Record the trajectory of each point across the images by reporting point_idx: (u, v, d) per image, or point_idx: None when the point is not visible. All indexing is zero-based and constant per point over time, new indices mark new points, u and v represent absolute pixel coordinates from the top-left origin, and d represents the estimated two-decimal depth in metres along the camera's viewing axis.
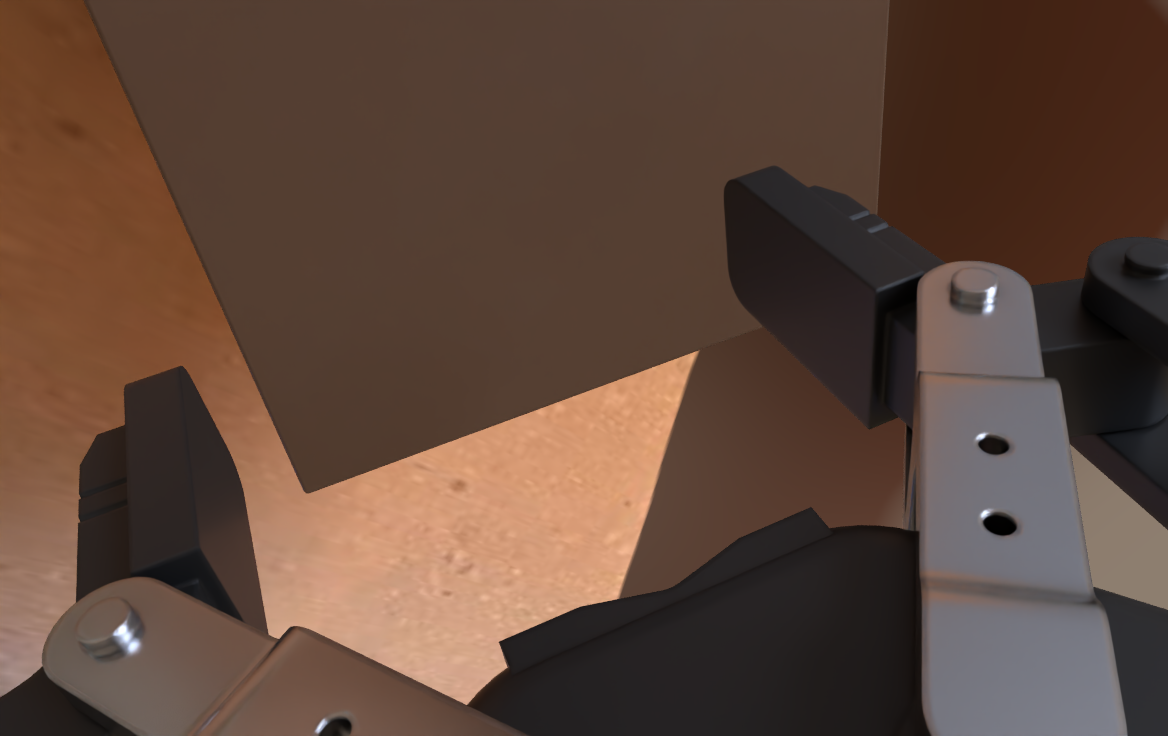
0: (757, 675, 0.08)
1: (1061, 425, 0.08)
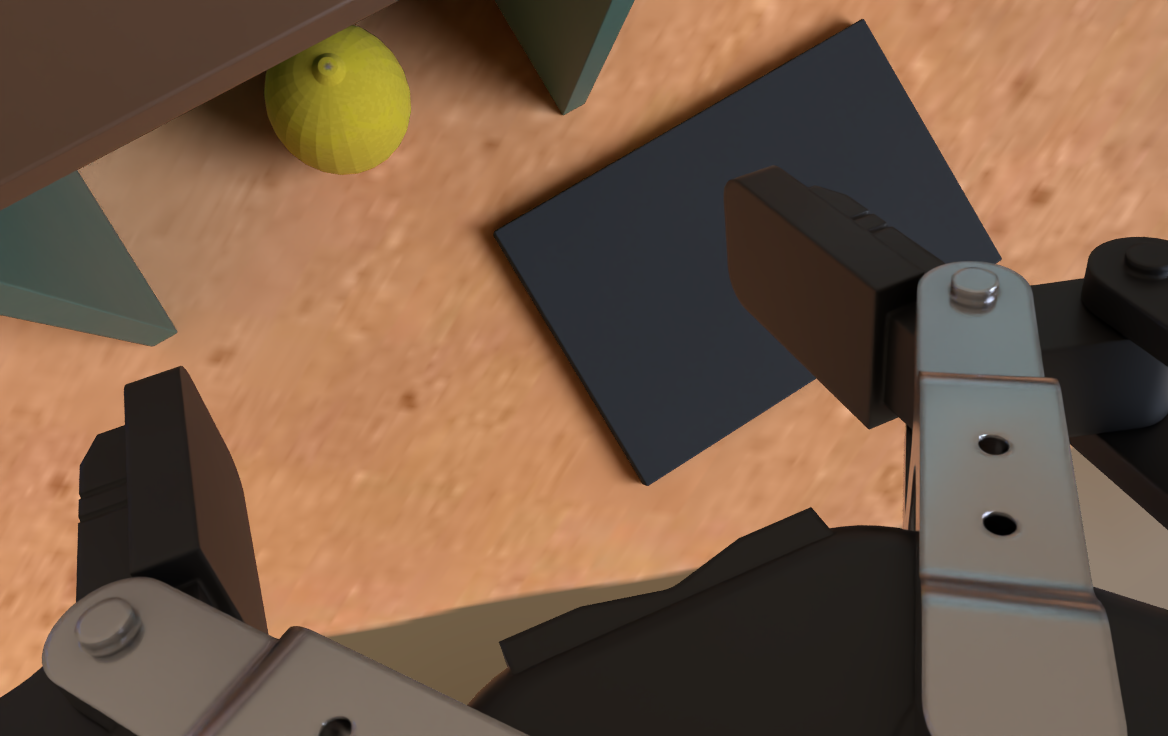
0: (757, 675, 0.08)
1: (1061, 426, 0.08)
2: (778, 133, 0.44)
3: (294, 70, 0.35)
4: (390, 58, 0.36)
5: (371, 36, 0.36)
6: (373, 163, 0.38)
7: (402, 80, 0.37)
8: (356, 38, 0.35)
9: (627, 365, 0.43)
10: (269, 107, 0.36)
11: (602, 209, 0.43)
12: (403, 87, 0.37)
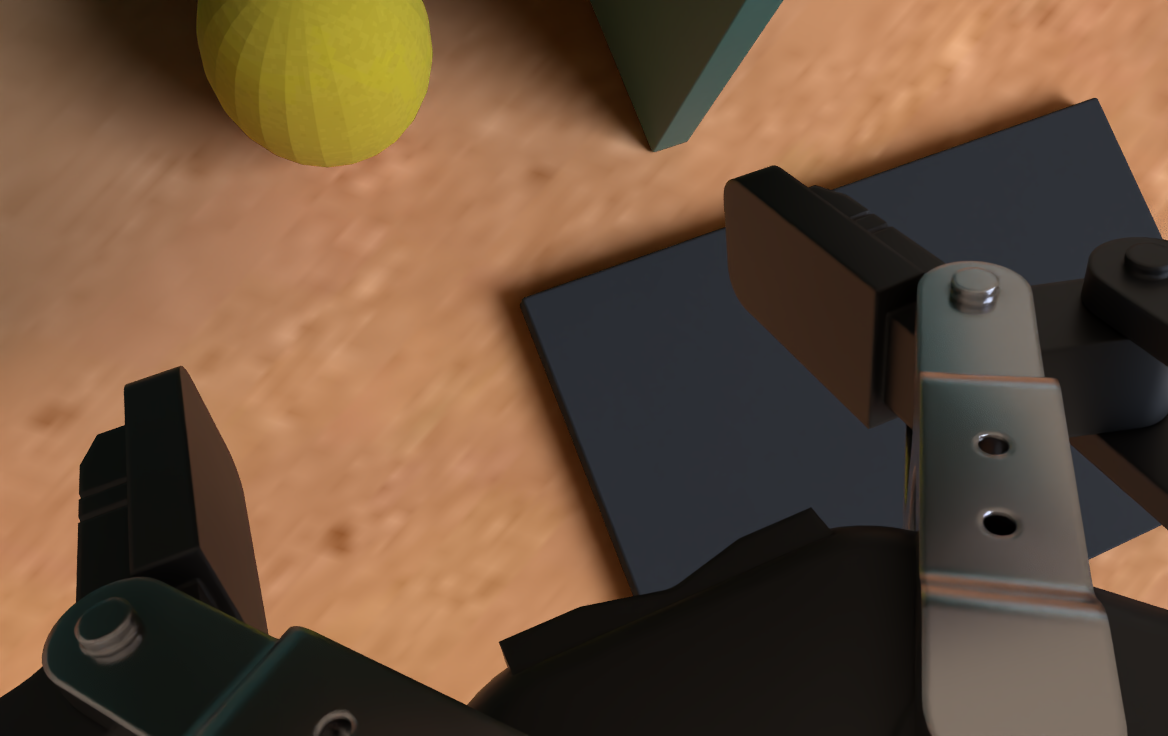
0: (757, 675, 0.08)
1: (1061, 425, 0.08)
2: (963, 232, 0.30)
3: None
4: None
5: None
6: (352, 149, 0.24)
7: (422, 23, 0.23)
8: None
9: (694, 540, 0.27)
10: (198, 22, 0.22)
11: (691, 294, 0.28)
12: (422, 34, 0.23)
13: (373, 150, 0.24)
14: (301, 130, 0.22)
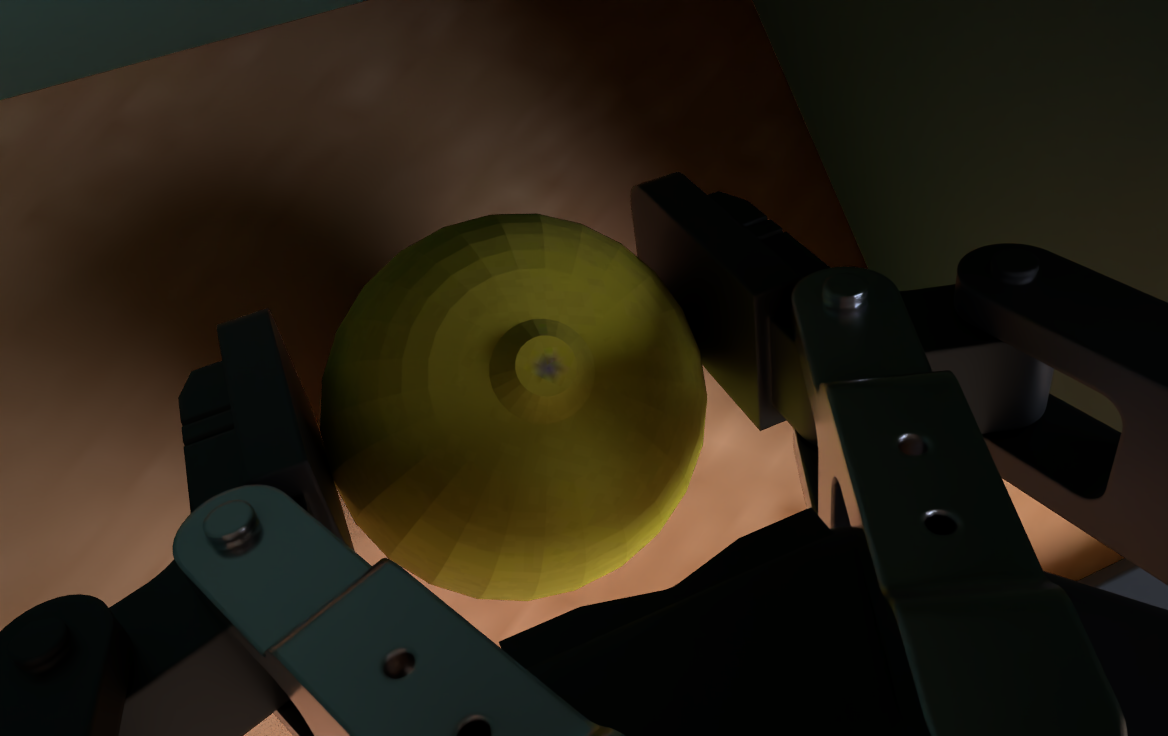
0: (757, 675, 0.08)
1: (968, 416, 0.09)
2: None
3: (434, 354, 0.11)
4: (695, 342, 0.13)
5: (655, 276, 0.13)
6: None
7: (706, 400, 0.13)
8: (627, 281, 0.12)
9: None
10: (331, 425, 0.12)
11: None
12: None
13: None
14: (504, 596, 0.13)
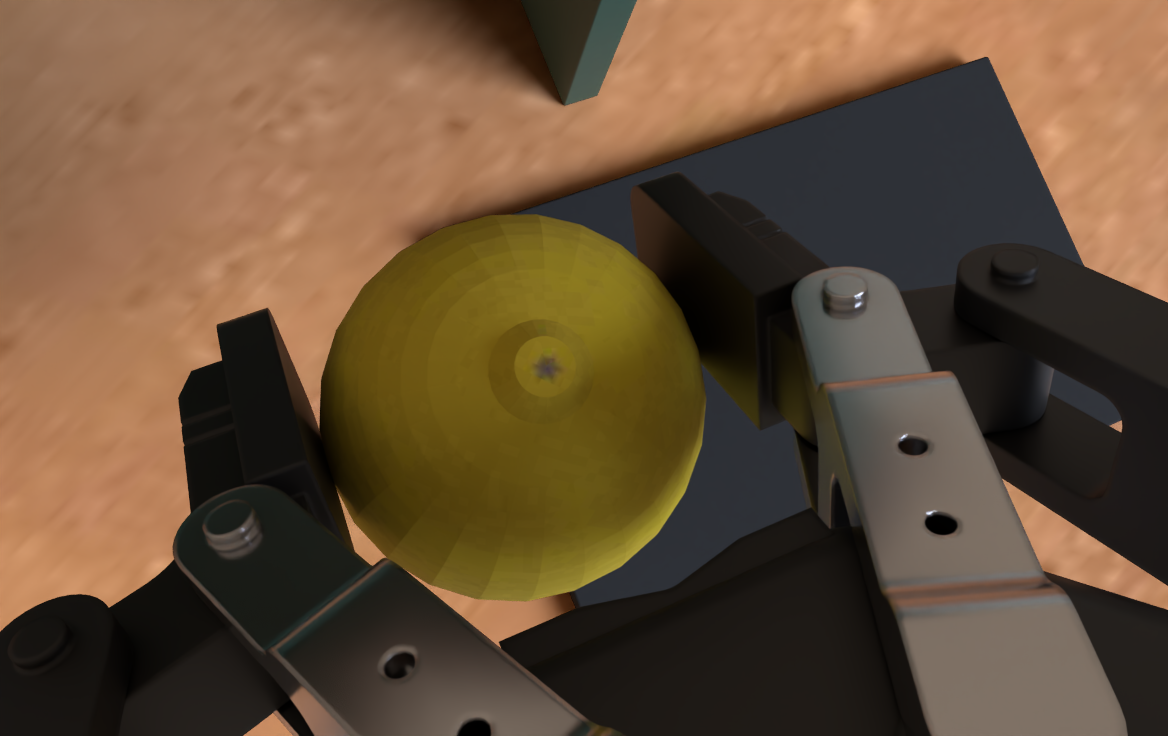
0: (757, 675, 0.08)
1: (968, 416, 0.09)
2: (857, 180, 0.31)
3: (433, 355, 0.11)
4: (694, 343, 0.13)
5: (654, 276, 0.13)
6: None
7: (705, 400, 0.13)
8: (626, 281, 0.12)
9: None
10: (330, 426, 0.12)
11: None
12: None
13: None
14: (504, 596, 0.13)
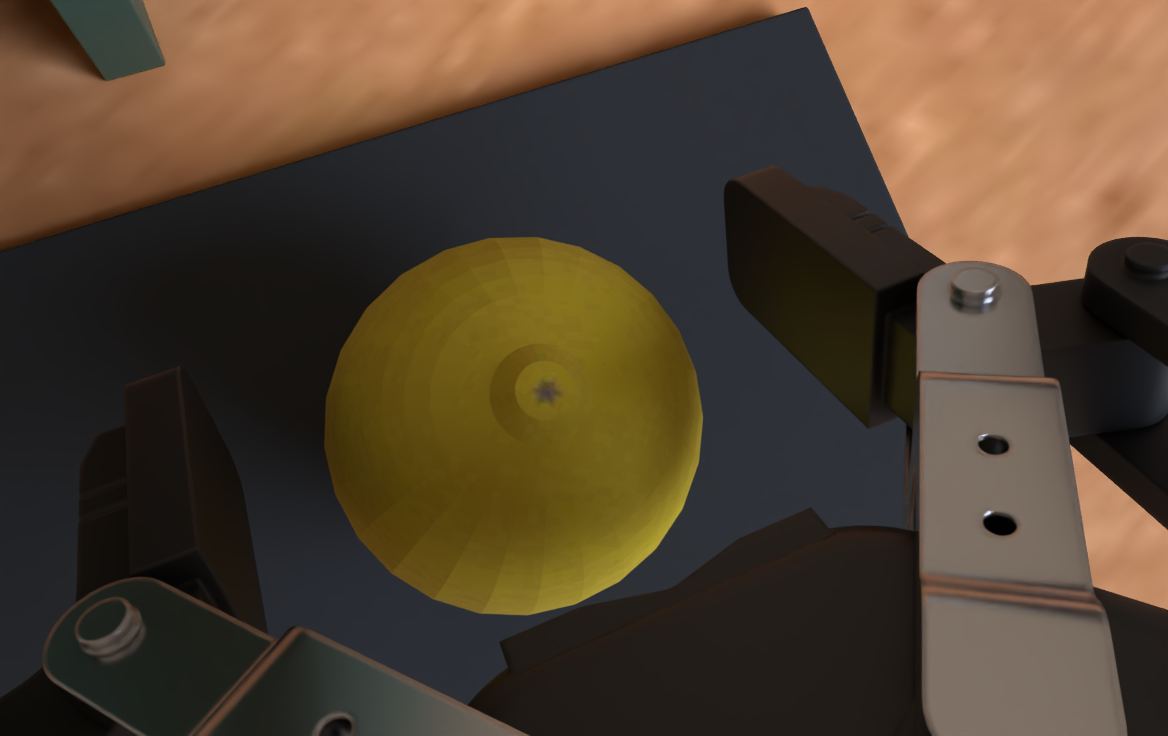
0: (757, 675, 0.08)
1: (1061, 426, 0.08)
2: (583, 201, 0.20)
3: (436, 379, 0.11)
4: (691, 363, 0.13)
5: (652, 298, 0.13)
6: None
7: (702, 418, 0.14)
8: (623, 304, 0.12)
9: None
10: (335, 445, 0.13)
11: (125, 295, 0.18)
12: None
13: None
14: (504, 611, 0.13)
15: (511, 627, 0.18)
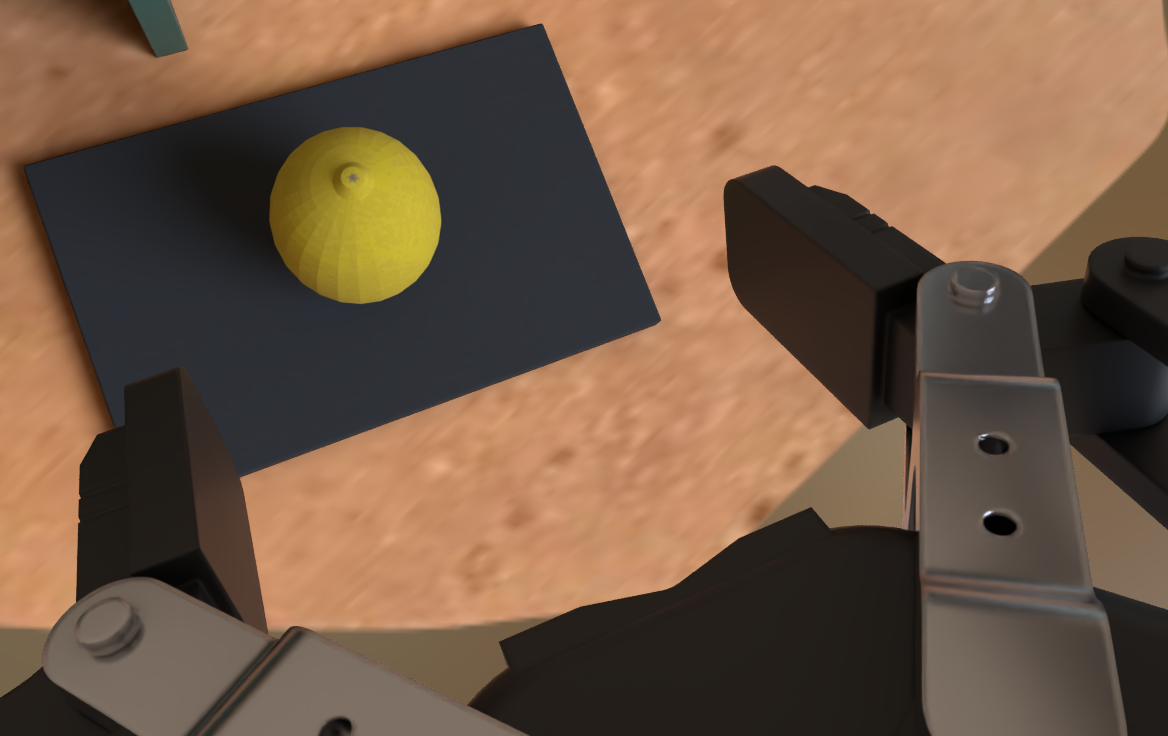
0: (757, 675, 0.08)
1: (1061, 425, 0.08)
2: (412, 125, 0.37)
3: (312, 175, 0.29)
4: (427, 181, 0.31)
5: (410, 153, 0.31)
6: (382, 296, 0.32)
7: (436, 208, 0.31)
8: (392, 151, 0.30)
9: (154, 355, 0.34)
10: (273, 211, 0.30)
11: (169, 167, 0.35)
12: (435, 216, 0.31)
13: (396, 293, 0.33)
14: (347, 288, 0.31)
15: (367, 339, 0.36)
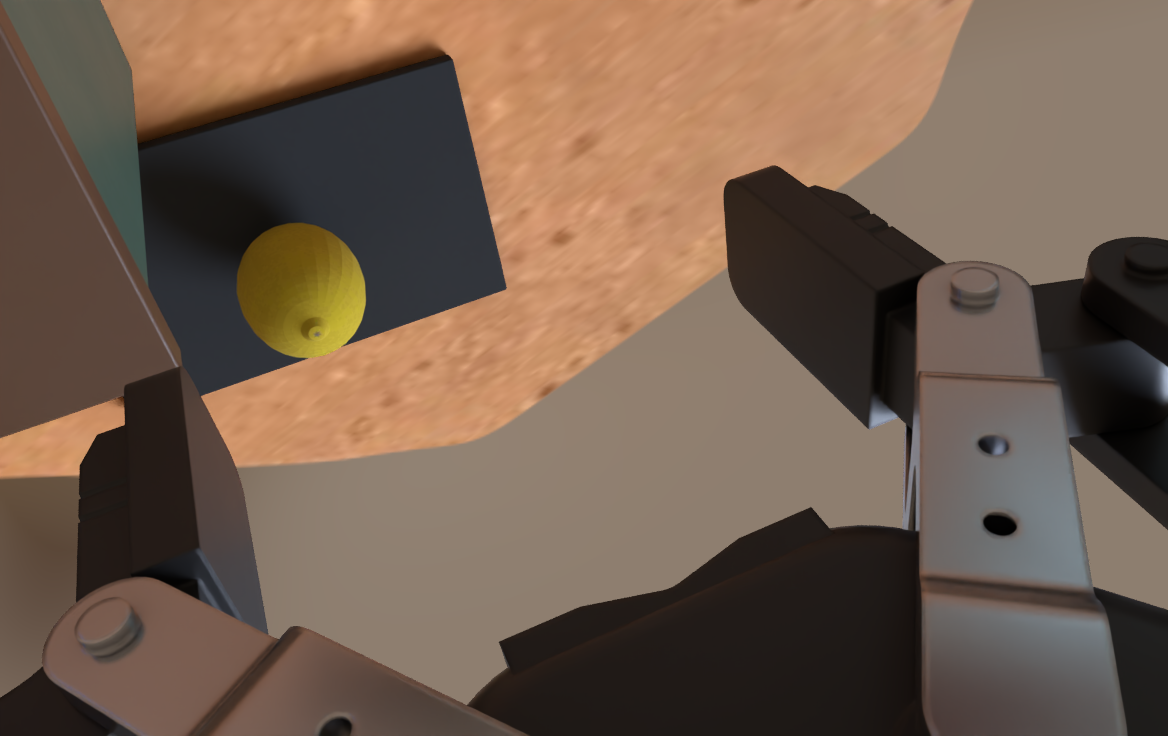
0: (757, 675, 0.08)
1: (1061, 425, 0.08)
2: (334, 151, 0.45)
3: (285, 321, 0.41)
4: (362, 298, 0.43)
5: (351, 282, 0.42)
6: None
7: None
8: (341, 296, 0.41)
9: None
10: (248, 315, 0.42)
11: None
12: None
13: None
14: None
15: None
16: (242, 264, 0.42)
